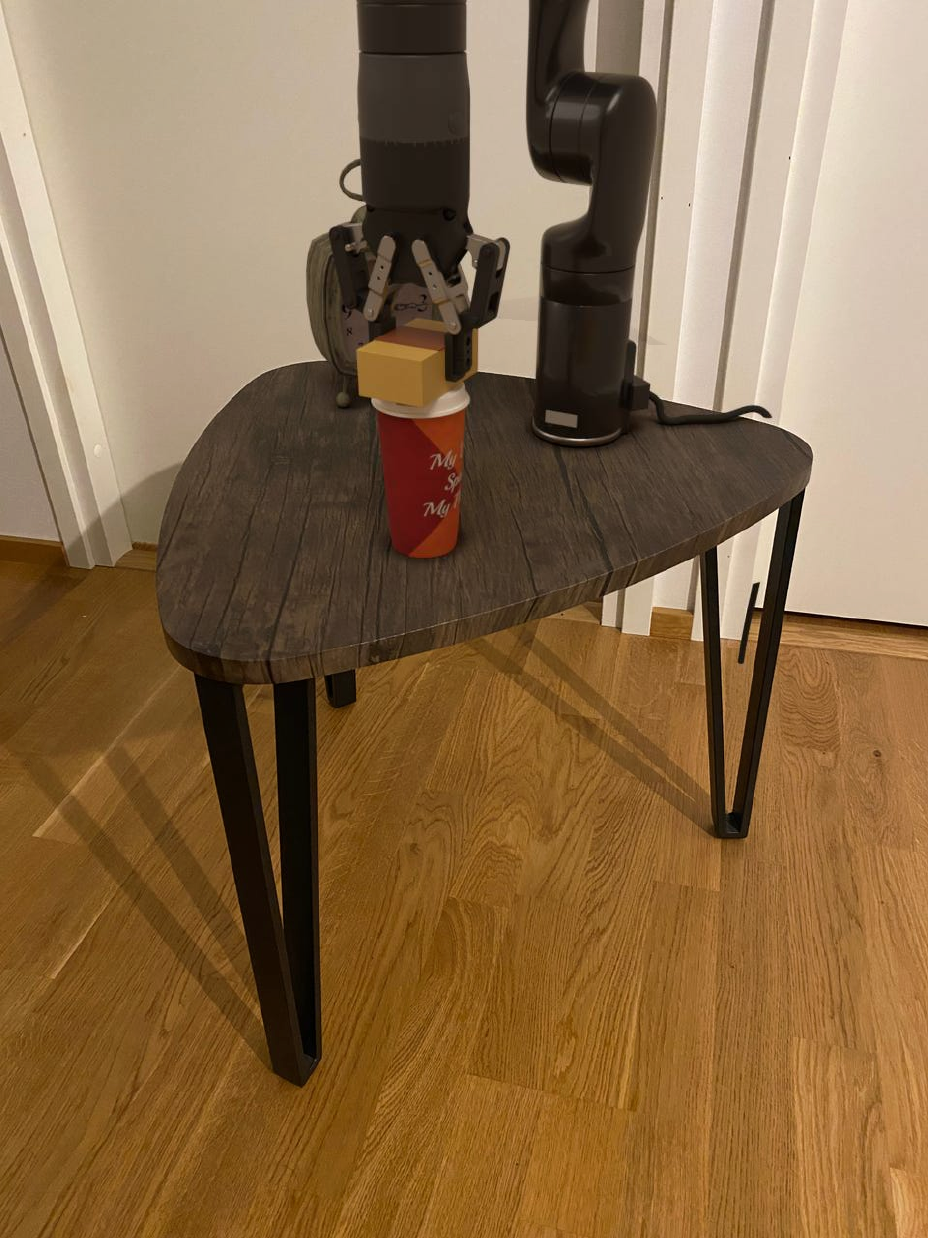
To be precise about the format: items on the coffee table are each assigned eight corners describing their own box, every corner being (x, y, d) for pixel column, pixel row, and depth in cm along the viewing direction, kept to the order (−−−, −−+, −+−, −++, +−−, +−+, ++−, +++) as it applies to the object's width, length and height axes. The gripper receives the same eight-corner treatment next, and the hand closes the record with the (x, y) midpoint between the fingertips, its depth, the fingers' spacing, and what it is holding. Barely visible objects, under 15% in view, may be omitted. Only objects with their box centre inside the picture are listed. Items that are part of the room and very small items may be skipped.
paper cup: (459, 569, 80) (458, 404, 72) (368, 559, 81) (358, 396, 73) (477, 524, 86) (478, 369, 78) (393, 516, 87) (386, 363, 80)
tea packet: (417, 360, 80) (416, 316, 78) (478, 371, 78) (479, 326, 76) (358, 395, 73) (355, 348, 71) (423, 408, 71) (422, 360, 69)
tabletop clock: (330, 415, 107) (311, 167, 94) (310, 388, 115) (290, 153, 101) (454, 397, 112) (452, 158, 98) (427, 373, 119) (422, 146, 105)
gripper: (534, 128, 66) (525, 373, 75) (354, 117, 72) (366, 345, 81) (485, 142, 61) (482, 404, 70) (294, 128, 66) (314, 373, 75)
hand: (420, 372), depth 75 cm, fingers closed on tea packet, 5 cm apart
